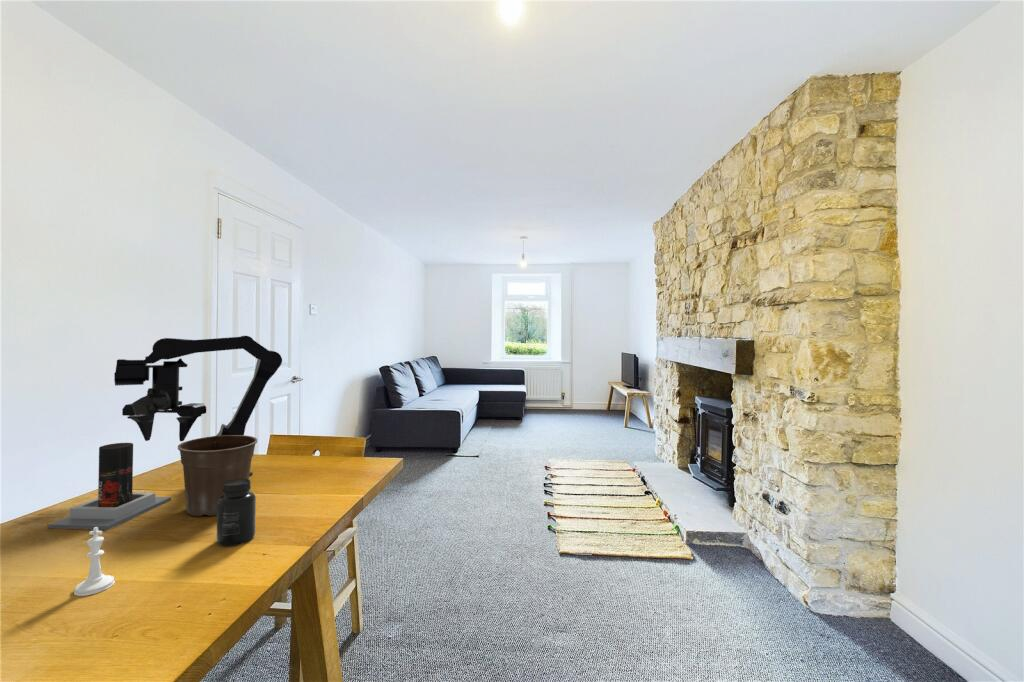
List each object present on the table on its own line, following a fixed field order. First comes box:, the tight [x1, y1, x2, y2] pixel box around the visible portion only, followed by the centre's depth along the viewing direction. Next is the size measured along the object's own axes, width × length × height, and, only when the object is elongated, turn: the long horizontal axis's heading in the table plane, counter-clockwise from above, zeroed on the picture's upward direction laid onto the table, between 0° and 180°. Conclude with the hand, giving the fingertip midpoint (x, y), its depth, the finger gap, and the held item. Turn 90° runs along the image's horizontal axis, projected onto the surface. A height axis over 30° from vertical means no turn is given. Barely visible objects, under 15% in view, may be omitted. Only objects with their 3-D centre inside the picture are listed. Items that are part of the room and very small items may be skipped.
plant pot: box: [177, 434, 258, 517], centre depth 106 cm, size 16×16×16 cm
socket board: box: [47, 491, 172, 531], centre depth 101 cm, size 13×17×3 cm
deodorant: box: [97, 442, 134, 507], centre depth 102 cm, size 6×6×15 cm
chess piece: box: [73, 527, 115, 597], centre depth 72 cm, size 5×5×10 cm
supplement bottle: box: [216, 478, 257, 547], centre depth 90 cm, size 7×7×12 cm
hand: (164, 440), depth 118 cm, fingers open, 9 cm apart
